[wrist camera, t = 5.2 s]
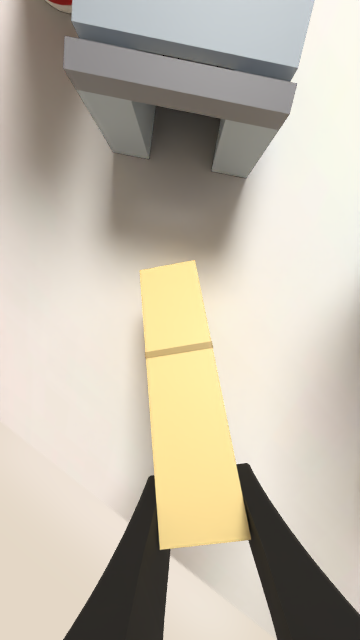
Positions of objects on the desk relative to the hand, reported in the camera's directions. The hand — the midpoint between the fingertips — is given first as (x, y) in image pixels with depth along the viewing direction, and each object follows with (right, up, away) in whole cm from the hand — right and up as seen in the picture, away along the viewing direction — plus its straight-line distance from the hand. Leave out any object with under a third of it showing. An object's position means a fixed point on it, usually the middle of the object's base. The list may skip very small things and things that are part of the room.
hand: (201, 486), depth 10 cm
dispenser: (0, +21, +4) cm, 21 cm away
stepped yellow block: (0, +4, +4) cm, 6 cm away
